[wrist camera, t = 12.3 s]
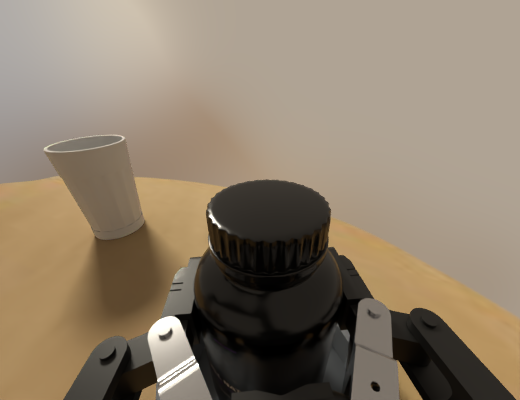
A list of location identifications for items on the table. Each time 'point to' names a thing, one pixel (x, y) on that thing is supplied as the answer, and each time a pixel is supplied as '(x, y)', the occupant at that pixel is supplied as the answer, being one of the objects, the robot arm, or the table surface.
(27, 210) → the table surface
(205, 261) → the supplement bottle
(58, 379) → the table surface
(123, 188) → the cup
